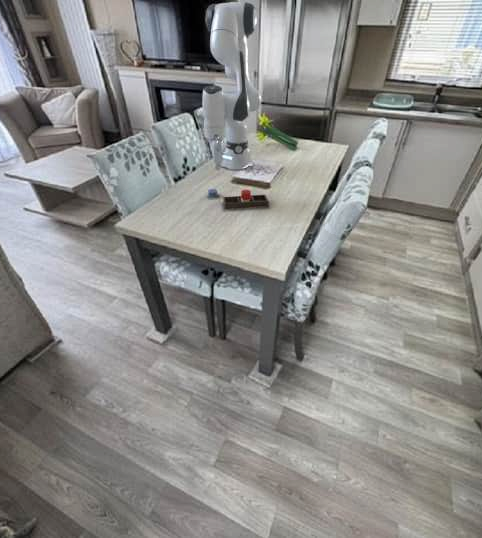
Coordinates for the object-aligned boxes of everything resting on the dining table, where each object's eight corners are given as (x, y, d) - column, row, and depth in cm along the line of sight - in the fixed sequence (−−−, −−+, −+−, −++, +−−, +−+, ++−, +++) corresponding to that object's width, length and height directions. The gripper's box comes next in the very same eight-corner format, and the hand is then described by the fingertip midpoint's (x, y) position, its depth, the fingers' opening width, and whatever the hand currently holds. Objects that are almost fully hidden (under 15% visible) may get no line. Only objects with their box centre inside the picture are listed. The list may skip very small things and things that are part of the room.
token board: (223, 203, 137) (223, 196, 135) (265, 200, 140) (265, 194, 138) (224, 210, 132) (224, 203, 130) (268, 207, 134) (268, 201, 132)
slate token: (208, 195, 143) (207, 189, 142) (217, 194, 144) (216, 188, 142) (208, 198, 140) (208, 193, 138) (217, 198, 141) (217, 192, 139)
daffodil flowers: (288, 154, 193) (244, 131, 200) (292, 160, 207) (250, 138, 214) (302, 129, 189) (256, 107, 196) (305, 137, 203) (262, 115, 210)
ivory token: (240, 202, 136) (240, 196, 135) (249, 201, 137) (249, 195, 135) (241, 206, 133) (241, 200, 131) (250, 205, 134) (251, 199, 132)
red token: (240, 196, 134) (240, 189, 133) (249, 195, 135) (249, 189, 133) (242, 200, 131) (242, 193, 129) (251, 199, 132) (251, 193, 130)
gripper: (225, 139, 115) (226, 174, 124) (220, 125, 131) (221, 157, 139) (209, 140, 114) (211, 175, 123) (205, 126, 130) (207, 158, 139)
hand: (216, 165), depth 131 cm, fingers open, 8 cm apart
